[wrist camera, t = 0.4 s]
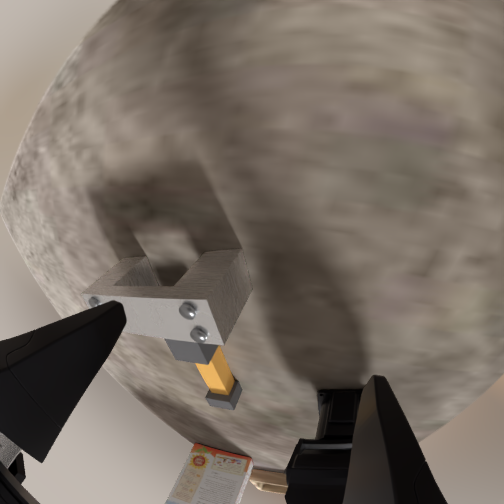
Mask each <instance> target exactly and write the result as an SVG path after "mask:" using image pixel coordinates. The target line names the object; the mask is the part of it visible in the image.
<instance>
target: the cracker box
mask: <svg viewBox="0 0 504 504" xmlns="http://www.w3.org/2000/svg"><path fill="white" fill-rule="evenodd" d="M252 467H253V461H252V458H250V457H246V456H241V455H237V454H233V453H229V452H225V451H221V450H217V449H214V448H211V447H207V446H204V445H201V444H198V443H195V444H194V446H193V448H192V450H191V452H190V454H189V456H188V459H187V460H186V463H185V465H184V467H183V469H182V471H181V473H180V475H179V477H178V479H177V481H176V483H175V485H174V487H173V489H172V491H171V493H170V495H169V497H168V499H167V501H166V503H165V504H239V503H240V500H241V498H242V495H243V492H244V489H245V487H246V484H247V481H248V479H249V476H250V473H251V470H252Z"/></svg>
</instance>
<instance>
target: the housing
mask: <svg viewBox="0 0 504 504" xmlns="http://www.w3.org/2000/svg"><path fill="white" fill-rule="evenodd" d="M252 290H253V288H252V284H251V280H250V277H249V273H248V269H247V265H246V261H245V257H244V254H243V250H242V249H230V250H217V251H205V252H204V253H203V254H202V255H201V257H200V258H199V259H198V260H197V261H196V262H195V263H194V264H193V265H192V266H191V268H190V269H189V270H188V271H187V272H186V273H185V274H184V275H183V277H182V278H181V279H180V280H179V281H178V282H177V283H176V284H175V286H174V287H166V286H159V285H158V283H157V281H156V278H155V276H154V273H153V271H152V269H151V266H150V264H149V261H148V259H147V256H141V257H129V258H123V259H122V260H121V261H119V262H118V263H117V264H116V265H115V266H113V267H112V268H111V269H110V270H108V271H107V272H106V273H105V274H104V275H102V276H101V277H100V278H99V279H98V280H96V281H95V282H94V283H93V284H92V285H91V286H89V287H88V288H87V289H86V290H85V291H84V292H82V293H81V294H82V296H83V298H84V300H85V302H86V304H87V306H88V307H89V309H90V308H93V307H96V306H98V305H101V304H104V303H106V302H109V301H112V300H115V301H118V302H120V303H122V304H123V306H124V310H125V314H126V318H127V323H126V326H125V327H124V329H123V331H122V332H127V333H133V334H139V335H145V336H151V337H158V338H165V339H172V340H179V341H188V342H196V343H205V344H216V345H225V343H226V341H227V339H228V337H229V335H230V333H231V331H232V329H233V327H234V325H235V323H236V321H237V319H238V317H239V315H240V313H241V311H242V309H243V307H244V305H245V304H246V302H247V300H248V298H249V296H250V294H251V292H252Z"/></svg>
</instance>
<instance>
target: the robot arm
mask: <svg viewBox="0 0 504 504" xmlns="http://www.w3.org/2000/svg"><path fill="white" fill-rule="evenodd" d="M126 323H127V318H126V314H125V310H124V306H123V304H122V303H120V302H118V301H115V300H112V301H109V302H106V303H104V304H101V305H98V306H96V307H93V308H90V309H88V310H85V311H83V312H80V313H77V314H75V315H72V316H69V317H67V318H64V319H62V320H59V321H57V322H54V323H51V324H48V325H46V326H44V327H41V328H38V329H36V330H33V331H30V332H27V333H25V334H22V335H19V336H16V337H13V338H10V339H6V340H2V341H0V504H40V503H39V502H38V501H37V500H36V499H35V498H34V497H33V496H32V495H31V494H30V493H29V492H28V491H27V490H26V489H25V488H24V487H23V486H22V485H21V484H22V482H23V481H24V479H25V478H26V476H25V469H24V461H23V454H22V453H21V452H20V451H21V450H23V451H25V452H26V453H28V454H29V455H30V456H32V457H33V458H35V459H36V460H38V461H39V462H41V463H43V461H44V460H45V458H46V456H47V454H48V452H49V450H50V449H51V447H52V445H53V444H54V442H55V440H56V438H57V436H58V435H59V433H60V431H61V430H62V428H63V426H64V425H65V423H66V421H67V420H68V418H69V416H70V414H71V413H72V411H73V410H74V408H75V407H76V405H77V403H78V402H79V400H80V398H81V397H82V396H83V394H84V392H85V391H86V389H87V388H88V386H89V385H90V383H91V382H92V380H93V378H94V377H95V375H96V374H97V373H98V371H99V370H100V368H101V367H102V365H103V364H104V362H105V361H106V359H107V358H108V356H109V354H110V353H111V351H112V349H113V347H114V345H115V344H116V342H117V340H118V338H119V336H120V335H121V333H122V331H123V329H124V327H125V326H126ZM317 396H318V407H319V416H320V417H319V423H318V428H317V433H316V438H315V439H301V438H300V439H299V442H298V444H297V445H296V447H295V449H294V452H293V454H292V456H291V459H290V461H289V463H288V466H287V467H286V469H285V472H284V473H285V475H286V482H287V485H288V488H287V491H286V494H285V500H286V503H287V504H448V503H447V502H446V500H445V498H444V496H443V494H442V493H441V491H440V489H439V487H438V485H437V483H436V482H435V479H434V477H433V475H432V473H431V470H430V468H429V466H428V464H427V462H426V461H425V457H424V455H423V453H422V450H421V448H420V446H419V444H418V442H417V440H416V437H415V435H414V433H413V431H412V429H411V427H410V425H409V423H408V421H407V419H406V417H405V415H404V412H403V410H402V408H401V406H400V404H399V403H398V401H397V399H396V397H395V395H394V393H393V391H392V389H391V387H390V385H389V383H388V381H387V379H386V378H385V377H384V376H380V375H373V376H372V377H371V378H370V380H369V381H368V383H367V384H366V386H365V387H364V389H363V390H319V391H318V394H317Z"/></svg>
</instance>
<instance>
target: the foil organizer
mask: <svg viewBox="0 0 504 504" xmlns="http://www.w3.org/2000/svg"><path fill="white" fill-rule="evenodd" d="M249 480H250V481H251V482H252V483H253V484H254V485H255V486H256V487H257V488H258V489H259V490H262V491H268V492H273V493H280V494H286V491H287V488H288V485H287V482H286V475H285V474H284V473H276V472H270V471H263V470H257V469H253V470H252V473H251V475H250V478H249Z"/></svg>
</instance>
